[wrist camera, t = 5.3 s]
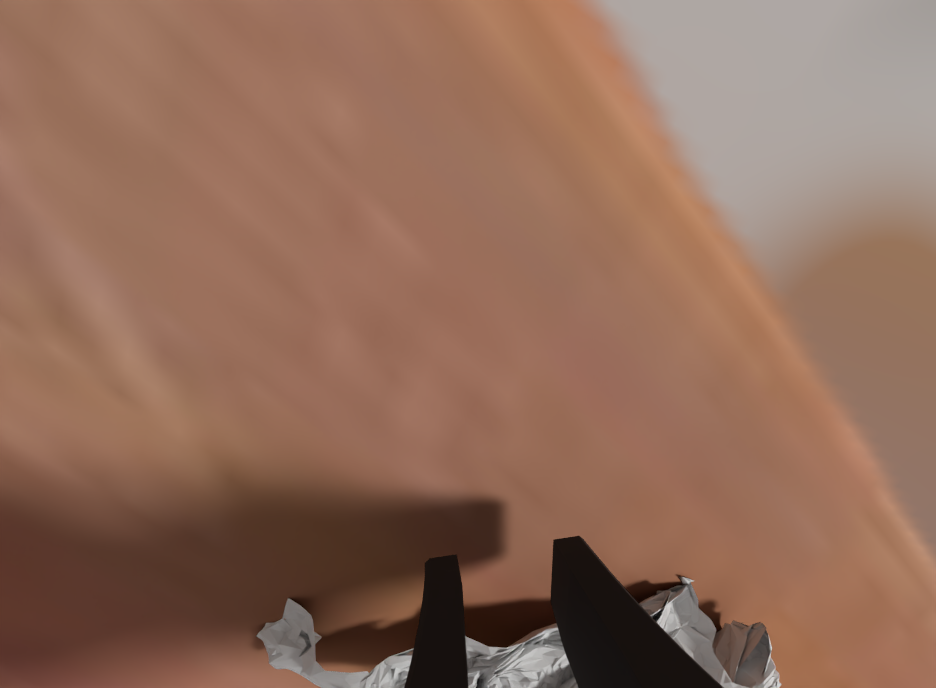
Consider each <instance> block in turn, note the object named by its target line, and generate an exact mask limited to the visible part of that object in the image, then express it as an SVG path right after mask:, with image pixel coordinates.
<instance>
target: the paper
mask: <svg viewBox="0 0 936 688" xmlns="http://www.w3.org/2000/svg"><path fill="white" fill-rule="evenodd" d="M679 578H680V580H681V581H682V583H683V584H684V585H683V586H675V587H673V588H670V589H668V590H665V591H657V594H656V595H654V596H652V597H649V598H647V599H645V600H643V601H642V602H640V603H639V604H640V605H641V606H642V607H643V608H644V610H645V611H646V612H647V613H648V614H649V615H650V616H651V617H652V618H653V619H654V620H655V621H656V622H657V623H658V624H659V625H660V627H661V628H662V629H663V630H664V631H665V632H666V633H667V634H668V635H669V636H670V637H671V638H672V639H673V640H674V641H675V642H676V643H677V644H678V645H679V646H680V647H681V648H682V649H683V650H684V651H685V652H687V653H688V654H689V655H690V656H691V657H692V658H693V659H694V660H695V661H696V662H697V663H698V664H699V665H700V666H701V667H702V668H703V669H704V670H705V671H706V672H707V673H708V674H710V675H711V676H712V677H713V678H714V679H715V680H716V681H717V682H718V683H719V684H720V685H722V686H723V687H724V688H779V687H780V686H781V684H780V683H779V673H778V672H777V671H776V670H775V668H776V666H775V664H774V662H773V660H772V659H771V657H770V656H771V650H772V646H771V643H770V639H769V636H768V633H767V631H766V627H765V626H764V625H763V623H761V622H759V623H755V624H752V625H750V626H747V625H744V624H742V623H739V622H736V621H732V623H731V625H730V624H727V623H725V624H724V627H723V629H722V630H720V631H718V632H717V633H716V628H715V626H714V624H713V622H712V620H711V619H710V618H709V617H708V616H707V615H705V614H704V613H703V612H702V611H701V610H700V609H699V608H698V598H697V596H696V594H695V592H694V589H693V587H692V585H691V582H692V581H694V580H691V579H688V578H685V577H679ZM284 618H285V619H284ZM743 623H744V622H743ZM715 633H716V634H715ZM257 637H258V638H260V639H261V640H262V641H263V642H264V645H265V647H266V650H267V652H268V655H269V664H270V665H272V666H273V667H274V668H275V669H289V670H291V671H294V672H296V673H298V674H300V675H302V676H303V677H305V678H306V679H308V680H309V681H311V682H312V683H314V684H315V685H317V686H319V687H321V688H404V687H405V683H406V679H407V675H408V671H409V667H410V663H411V659H412V654H413V651H412V650H413V649H414V648H413V649H410V650H408V651H405V652H402V653H399V654H395V655H392V656H389V657H388V658H386V659H385V660H383V661H382V662H381V663H380V664H378V665H377V666H376V667H375V668H374V669H373V670H372V671H371V672H370V673H368V672H367V671H365V672H355V673H346V672H334V671H325V670H324V669H323V668H322V667H321V666H320V665H319V664H318V663H317V661H316V655H315V644H316V643H317V642H318V641H319V640H320V639H321V638H322V637H321V636H320V635H318V634H317V633H315V632H314V626H313V619H312V616H311V614H309V613H308V612H307V611H306V610H305V609H304V608H303V607H302V606H300V605H299V604H297V603H296V602H294V601H293V600H291V599H289V598H288V600H287V603H286V605H285V610H284V614H283V618H282V619H280V620H278V621H276V622H274V623H266V624H265V627H264V628H263V629H262V630H261V631H260V632H259V633H258V634H257ZM465 638H466V654H467V670H468V688H578V685H577V683H576V680H575V677H574V675H573V672H572V670H571V667H570V664H569V662H568V659H567V656H566V654H565V651H564V648H563V644H562V641H561V637H560V634H559V630H558V627H557V623H555V624H552V625H549V626H546V627H543V628H540V629H537V630H534V631H532V632H531V633H529V634H528V635H526V636H525V637H523V638H522V639H520V640H518V641H517V642H515V643H513V644H512V645H510V646H508V647H506V648H501V647H488V646H486V645H484V644H482V643H480V642H477V641H475V640H473V639H470V638H468V637H466V636H465ZM410 651H411V652H410Z"/></svg>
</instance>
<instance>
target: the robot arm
mask: <svg viewBox="0 0 936 688" xmlns="http://www.w3.org/2000/svg"><path fill="white" fill-rule="evenodd" d="M551 605H552V608H553V612H554V616H555V619H556V623H557V627H558V630H559V634H560V637H561V641H562V644H563V648H564V651H565V654H566V656H567V659H568V662H569V664H570V667H571V670H572V672H573V675H574V677H575V680H576V683H577V685H578V688H724V687H723V686H722V685H720V684H719V683H718V682H717V681H716V680H715V679H714V678H713V677H712V676H711V675H710V674H708V673H707V672H706V671H705V670H704V669H703V668H702V667H701V666H700V665H699V664H698V663H697V662H696V661H695V660H694V659H693V658H692V657H691V656H690V655H689V654H688V653H687V652H685V651H684V650H683V649H682V648H681V647H680V646H679V645H678V644H677V643H676V642H675V641H674V640H673V639H672V638H671V637H670V636H669V635H668V634H667V633H666V632H665V631H664V630H663V629H662V628H661V627H660V625H659V624H658V623H657V622H656V621H655V620H654V619H653V618H652V617H651V616H650V615H649V614H648V613H647V612H646V611H645V610H644V608H643V607H642V606H641V605H640V604H639V603H638V602H637V601H636V600H635V599H634V598H633V597H632V596H631V594H630V593H629V592H628V591H627V590H626V589H625V588H624V587H623V586H622V584H621V583H620V582H619V581H618V580H617V579H616V578H615V576H614V575H613V574H612V573H611V572H610V571H609V570H608V568H607V567H606V566H605V565H604V564H603V562H602V561H601V560H600V559H599V558H598V557H597V555H596V554H595V553H594V552H593V550H592V549H591V548H590V547H589V546H588V544H587V543H586V542H585V541H584V539H582V538H581V537H580V536H575V537H568V538H562V539H555V540H554V542H553V562H552V583H551ZM404 688H468V670H467V654H466V638H465V622H464V606H463V590H462V582H461V576H460V570H459V565H458V560H457V554H456V555H449V556H443V557H436V558H430V559H429V560H428V561H426V562H425V581H424V592H423V600H422V607H421V613H420V619H419V625H418V630H417V635H416V639H415V644H414V649H413V654H412V659H411V663H410V667H409V671H408V675H407V679H406V683H405V687H404Z"/></svg>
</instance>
